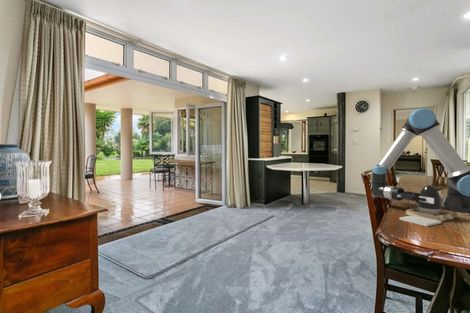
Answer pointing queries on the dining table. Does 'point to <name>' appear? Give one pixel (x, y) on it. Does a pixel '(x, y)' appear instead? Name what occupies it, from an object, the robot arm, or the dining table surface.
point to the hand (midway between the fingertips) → (439, 200)
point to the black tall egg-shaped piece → (428, 207)
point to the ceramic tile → (420, 220)
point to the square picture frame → (440, 216)
